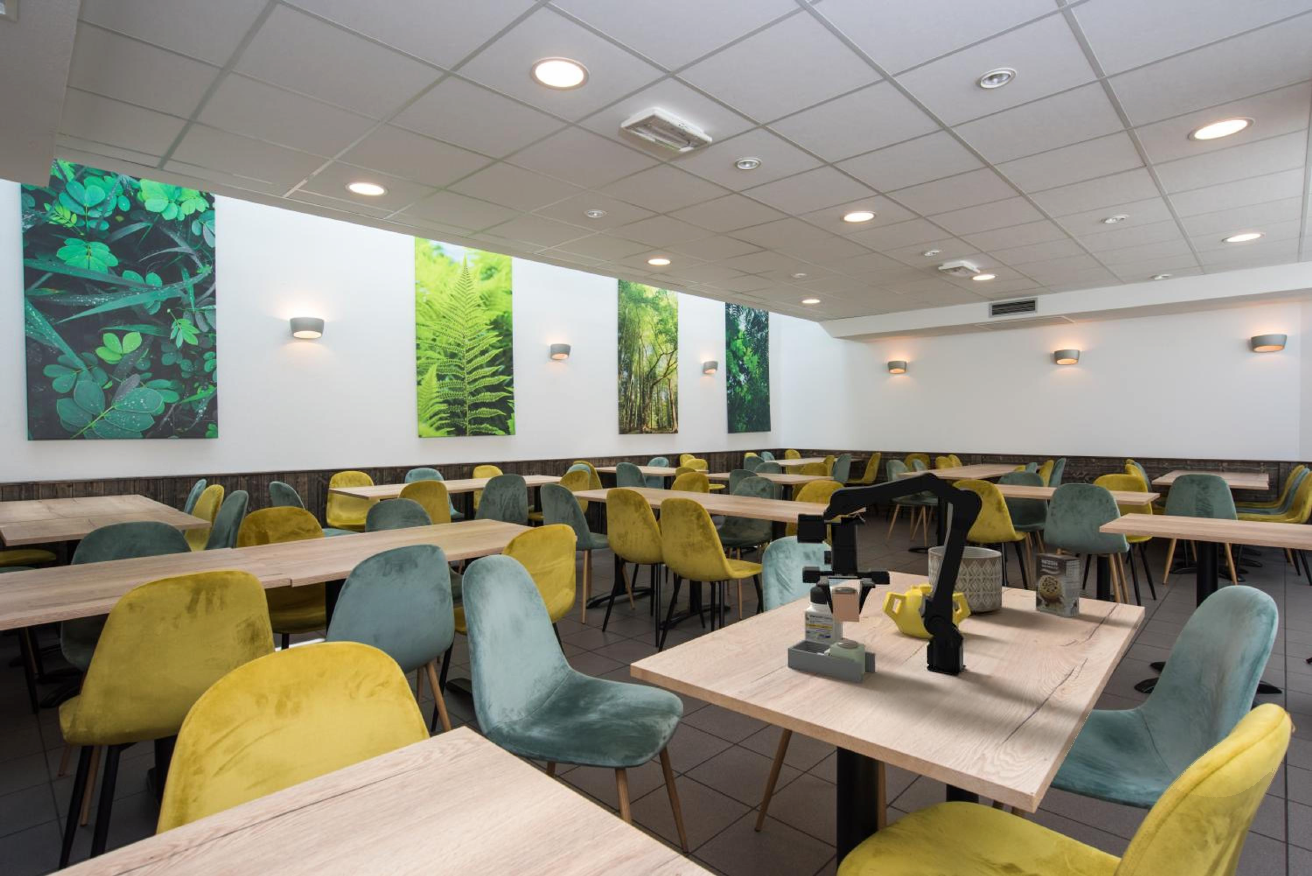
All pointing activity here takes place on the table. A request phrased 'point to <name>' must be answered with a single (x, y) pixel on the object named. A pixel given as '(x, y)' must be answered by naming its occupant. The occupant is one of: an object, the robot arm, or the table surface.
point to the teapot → (908, 611)
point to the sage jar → (849, 651)
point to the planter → (974, 577)
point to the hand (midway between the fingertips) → (845, 613)
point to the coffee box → (1057, 584)
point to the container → (821, 619)
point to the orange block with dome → (845, 604)
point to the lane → (827, 661)
